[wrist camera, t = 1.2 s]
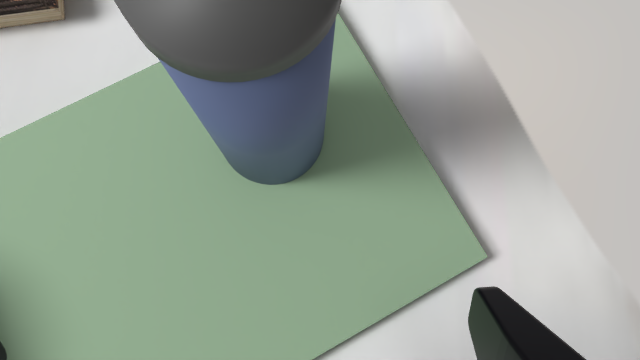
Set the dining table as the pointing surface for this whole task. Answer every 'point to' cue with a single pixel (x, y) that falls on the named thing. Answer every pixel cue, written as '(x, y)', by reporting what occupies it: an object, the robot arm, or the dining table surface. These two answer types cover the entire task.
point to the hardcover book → (30, 12)
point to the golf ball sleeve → (248, 74)
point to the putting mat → (215, 229)
